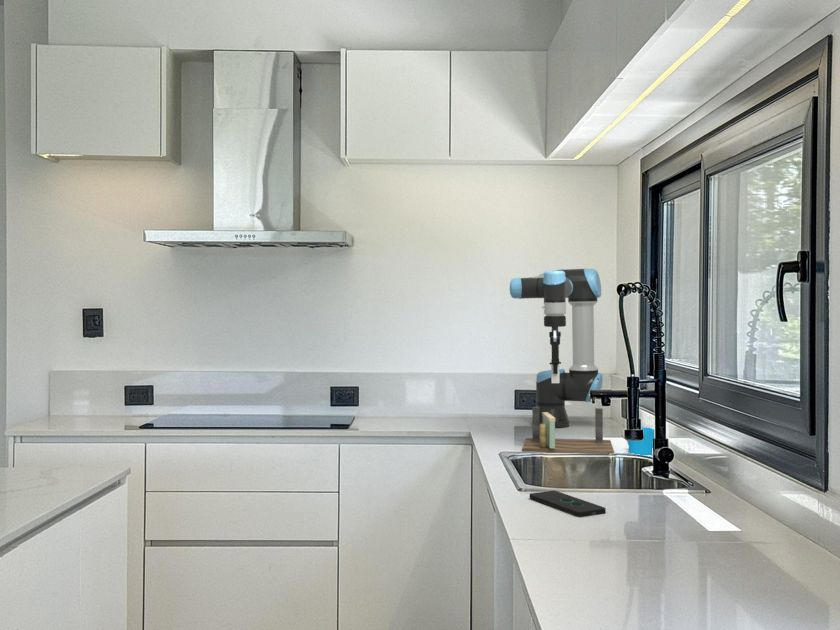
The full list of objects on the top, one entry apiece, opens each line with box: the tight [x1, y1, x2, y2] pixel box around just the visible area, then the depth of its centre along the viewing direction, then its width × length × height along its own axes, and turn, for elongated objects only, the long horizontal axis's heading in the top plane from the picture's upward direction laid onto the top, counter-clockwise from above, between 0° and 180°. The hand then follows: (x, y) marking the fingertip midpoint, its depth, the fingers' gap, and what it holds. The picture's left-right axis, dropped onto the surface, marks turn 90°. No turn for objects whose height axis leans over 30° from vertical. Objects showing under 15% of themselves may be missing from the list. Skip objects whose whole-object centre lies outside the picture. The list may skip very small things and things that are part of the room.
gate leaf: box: [542, 412, 556, 448], centre depth 258 cm, size 2×18×10 cm, turn 179°
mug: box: [626, 426, 655, 456], centre depth 249 cm, size 12×8×8 cm
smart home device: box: [529, 490, 607, 518], centre depth 180 cm, size 8×2×20 cm
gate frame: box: [521, 406, 615, 454], centre depth 261 cm, size 23×30×13 cm
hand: (555, 382), depth 261 cm, fingers closed
